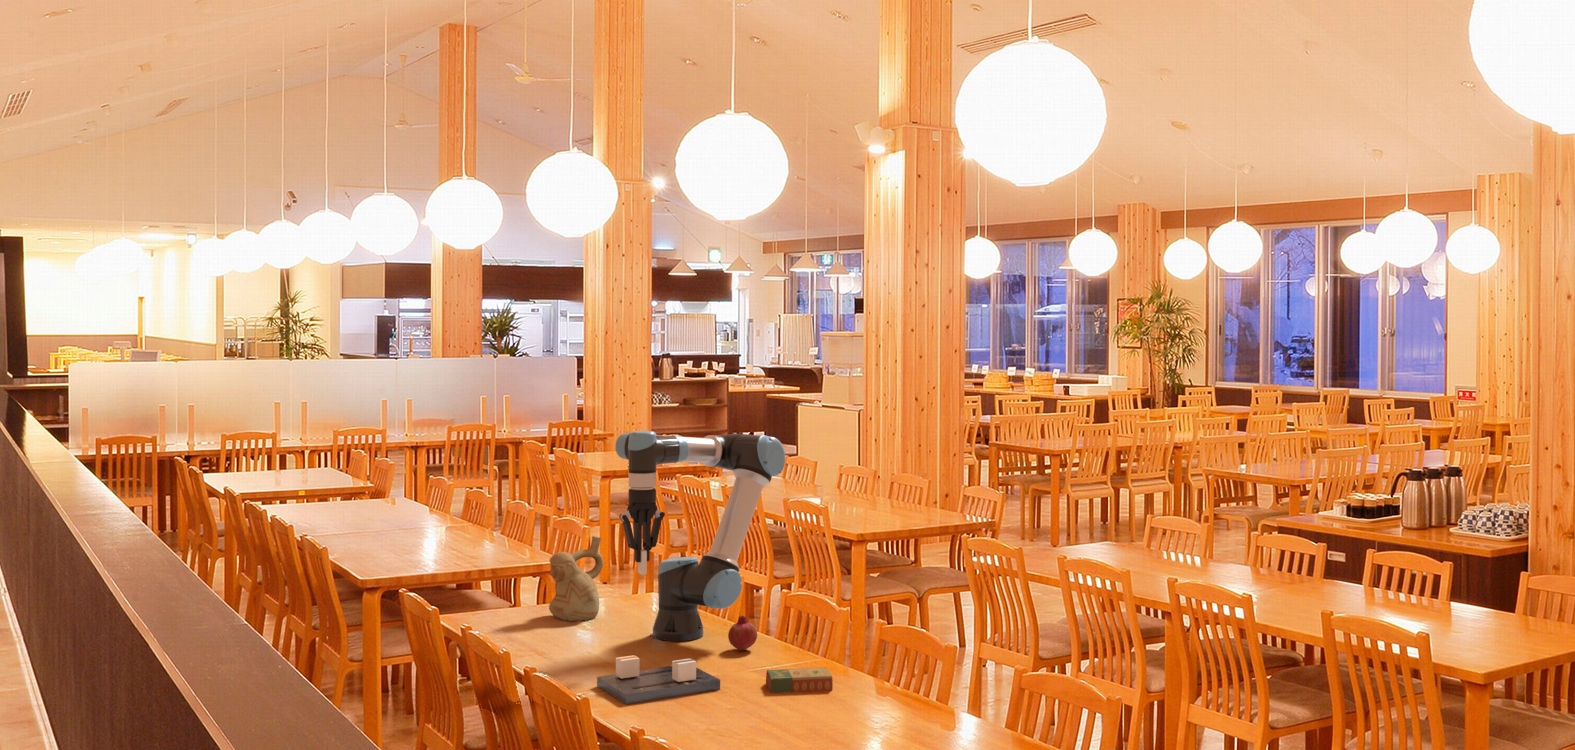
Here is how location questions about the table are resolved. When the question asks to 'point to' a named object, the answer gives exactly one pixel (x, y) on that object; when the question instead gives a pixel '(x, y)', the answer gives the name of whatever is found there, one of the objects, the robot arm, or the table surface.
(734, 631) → the fruit
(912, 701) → the table surface
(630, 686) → the console
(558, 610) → the ceramic vessel
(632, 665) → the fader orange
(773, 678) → the carton
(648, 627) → the table surface
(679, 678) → the fader grey
